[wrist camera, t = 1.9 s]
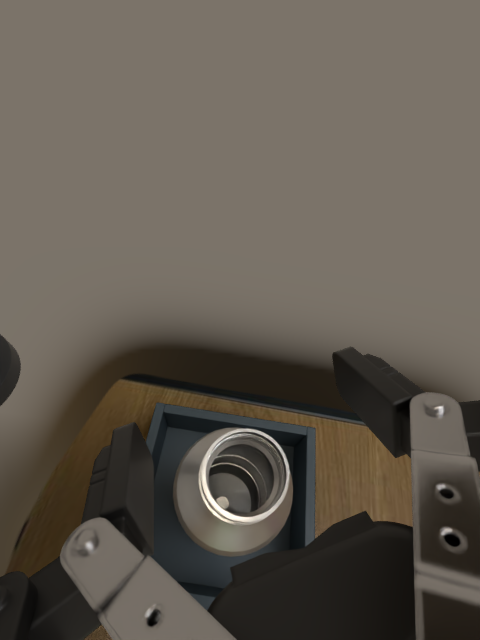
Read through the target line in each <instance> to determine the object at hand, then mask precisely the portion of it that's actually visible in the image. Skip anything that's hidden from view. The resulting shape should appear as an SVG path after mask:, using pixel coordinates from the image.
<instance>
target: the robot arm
mask: <svg viewBox="0 0 480 640" xmlns="http://www.w3.org/2000/svg"><path fill="white" fill-rule="evenodd" d="M332 357H333V365H334V372H335V379H336V384H337V388H338V391H339V393H340V395H341V397H342V398H343V399H344V400H345V402H346V403H347V404H348V405H349V406H350V407H351V408H352V409H353V411H354V412H355V413H356V414H357V415H358V416H359V417H360V418H361V420H362V421H363V422H364V423H365V424H366V425H367V426H368V427H369V429H370V430H371V431H372V432H373V433H374V434H375V435H376V437H377V438H378V439H379V440H380V441H381V442H382V443H383V444H384V446H385V447H386V448H387V449H388V450H389V451H390V452H391V453H392V455H393V456H394V457H395V458H397V457H400V456H402V455H405V454H407V455H408V456H409V457H410V458H411V472H412V511H413V527H410V526H407V525H404V524H400V523H396V522H388V521H376V522H373V521H372V520H371V518H370V517H369V515H368V514H367V512H366V511H364V512H362V513H359V514H357V515H354V516H352V517H350V518H347V519H345V520H342V521H340V522H338V523H335V524H333V525H332V526H331V527H330V528H328V529H327V530H326V531H325V532H323V533H322V534H321V535H320V536H318V537H317V538H316V539H315V540H313V541H312V542H311V543H310V544H308V545H307V546H306V547H304V548H301V549H294V550H286V551H278V552H270V553H264V554H261V555H259V556H257V557H254V558H252V559H249V560H247V561H245V562H242V563H240V564H237V565H235V566H233V567H230V570H231V575H232V580H233V581H232V582H231V583H229V584H228V585H227V586H226V587H225V588H224V589H223V590H222V591H221V592H220V593H219V594H218V596H217V597H216V598H215V599H214V601H213V602H212V603H211V605H210V607H209V608H208V610H207V611H206V610H205V609H204V608H203V607H202V606H201V605H200V604H199V603H198V602H197V601H196V600H195V599H194V598H193V597H192V596H191V595H190V594H189V593H188V592H187V591H186V590H185V589H184V588H183V587H182V586H181V585H180V584H178V583H177V582H176V581H175V580H174V579H173V578H172V577H171V576H170V575H169V574H168V573H167V572H166V571H165V570H164V569H163V568H162V567H161V566H160V565H159V564H158V563H157V562H156V561H155V560H154V559H153V558H151V557H150V556H151V555H153V554H154V465H153V460H152V456H151V453H150V451H149V448H148V446H147V444H146V442H145V440H144V438H143V436H142V434H141V432H140V430H139V428H138V426H137V424H136V423H135V422H133V423H130V424H127V425H124V426H122V427H119V428H116V429H114V430H113V435H112V441H111V445H109V446H107V447H104V448H102V450H101V452H100V453H99V455H98V456H97V458H96V459H95V462H94V466H93V471H92V476H91V480H90V486H89V489H88V494H87V499H86V503H85V508H84V512H83V517H82V522H81V525H80V526H79V527H78V528H76V529H75V530H74V531H73V532H72V533H71V535H70V536H69V537H68V538H67V540H66V542H65V543H64V545H63V548H62V550H61V554H60V556H59V557H58V558H57V559H55V560H54V561H53V562H51V563H50V564H48V565H47V566H45V567H44V568H43V569H41V570H40V571H38V572H37V573H35V574H34V575H32V576H31V577H29V578H28V577H27V576H26V575H25V574H24V573H23V572H20V571H15V572H11V573H8V574H6V575H4V576H2V577H0V640H83V639H84V638H86V637H87V636H88V635H89V634H90V633H92V632H93V631H94V630H95V629H97V628H98V627H99V626H100V625H103V626H104V628H105V629H106V631H107V632H108V633H109V635H110V636H111V638H112V639H113V640H480V476H479V472H480V400H479V401H470V402H459V403H457V402H456V401H455V400H454V399H452V398H451V397H449V396H446V395H443V394H439V393H426V392H424V391H423V390H422V389H420V388H419V387H418V386H417V385H415V384H414V383H413V382H411V381H410V380H409V379H407V378H406V377H405V376H403V375H402V374H401V373H398V371H397V370H395V369H394V368H393V367H390V365H389V364H388V363H386V362H385V361H384V360H382V359H381V358H378V357H376V356H373V355H370V354H366V355H364V356H363V355H362V354H361V353H359V352H358V351H357V350H356V349H354V348H353V347H348V348H345V349H343V350H340V351H337V352H334V353H333V356H332Z"/></svg>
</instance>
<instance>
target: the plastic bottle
mask: <svg viewBox="0 0 480 640" xmlns="http://www.w3.org/2000/svg"><path fill="white" fill-rule="evenodd" d="M173 500H174V507H175V511H176V514H177V517H178V520H179V522H180V524H181V526H182V527H183V529H184V531H185V532H186V534H187V535H188V536H189V537H190V538H191V539H192V540H193V541H194V542H195V543H196V544H197V545H199V546H200V547H202V548H203V549H205V550H207V551H209V552H212V553H214V554H217V555H222V556H229V557H234V556H244V555H247V554H250V553H253V552H256V551H258V550H259V549H261V548H263V547H264V546H266V545H268V544H269V543H270V542H271V541H272V540H273V539H274V538H275V537H276V536H277V535H278V533H279V532H280V531H281V529H282V528H283V526H284V525H285V522H286V520H287V518H288V516H289V513H290V509H291V505H292V500H293V484H292V476H291V473H290V470H289V464H288V461H287V458H286V455H285V453H284V452H283V450H282V448H281V447H280V446H279V444H278V443H277V442H276V441H275V440H274V439H273V438H272V437H270V436H269V435H267V434H265V433H264V432H261V431H258V430H255V429H248V428H247V429H244V428H237V427H235V428H223V429H219V430H215V431H213V432H211V433H209V434H206V435H205V436H203V437H202V438H200V439H199V440H198V441H196V442H195V443H194V444H193V445H192V446H191V447H190V448H189V449H188V451H187V452H186V454H185V455H184V457H183V458H182V460H181V462H180V464H179V466H178V469H177V471H176V475H175V479H174V484H173Z"/></svg>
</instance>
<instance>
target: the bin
mask: <svg viewBox="0 0 480 640" xmlns="http://www.w3.org/2000/svg"><path fill="white" fill-rule="evenodd" d="M235 427H237V428H244V429H247V428H248V429H255V430H258V431H261V432H264V433H265V434H267V435H269V436H270V437H272V438H273V439H274V440H275V441H276V442H277V443H278V444H279V446H280V447H281V448H282V450H283V452H284V453H285V455H286V458H287V461H288V464H289V470H290V473H291V476H292V484H293V500H292V505H291V509H290V513H289V516H288V518H287V520H286V522H285V525H284V526H283V528H282V529H281V531H280V532H279V533H278V535H277V536H276V537H275V538H274V539H273V540H272V541H271V542H270V543H269V544H268V545H266V546H264V547H263V548H261V549H259V550H258V551H256V552H253V553H250V554H247V555H244V556H234V557H229V556H222V555H217V554H214V553H212V552H209V551H207V550H205V549H203V548H202V547H200V546H199V545H197V544H196V543H195V542H194V541H193V540H192V539H191V538H190V537H189V536H188V535H187V534H186V532H185V531H184V529H183V527H182V526H181V524H180V522H179V520H178V517H177V514H176V511H175V507H174V500H173V484H174V479H175V475H176V471H177V469H178V466H179V464H180V462H181V460H182V458H183V457H184V455H185V454H186V452H187V451H188V449H189V448H190V447H191V446H192V445H193V444H194V443H195V442H196V441H198V440H199V439H200V438H202V437H203V436H205V435H206V434H209V433H211V432H213V431H215V430H219V429H223V428H235ZM146 444H147V446H148V448H149V451H150V453H151V456H152V460H153V465H154V554H153V555H151V556H150V557H151V558H153V559H154V560H155V561H156V562H157V563H158V564H159V565H160V566H161V567H162V568H163V569H164V570H165V571H166V572H167V573H168V574H169V575H170V576H171V577H172V578H173V579H174V580H175V581H176V582H177V583H178V584H180V585H181V586H182V587H183V588H184V589H185V590H186V591H187V592H188V593H189V594H190V595H191V596H192V597H193V598H194V599H195V600H196V601H197V602H198V603H199V604H200V605H201V606H202V607H203V608H204V609H205V610H208V608H209V607H210V605H211V603H212V602H213V601H214V599H215V598H216V597H217V596H218V594H219V593H220V592H221V591H222V590H223V589H224V588H225V587H226V586H227V585H228V584H229V583H231V582H232V581H233V580H232V575H231V570H230V567H233V566H235V565H237V564H240V563H242V562H245V561H247V560H249V559H252V558H254V557H257V556H259V555H261V554H264V553H270V552H278V551H286V550H294V549H301V548H304V547H306V546H307V545H308V544H310V543H311V542H312V541H313V540H315V428H312V427H306V426H300V425H294V424H288V423H281V422H275V421H269V420H263V419H257V418H250V417H244V416H238V415H232V414H225V413H219V412H213V411H207V410H201V409H194V408H188V407H182V406H176V405H169V404H163V403H156V407H155V410H154V414H153V418H152V421H151V425H150V428H149V432H148V436H147V439H146Z"/></svg>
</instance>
